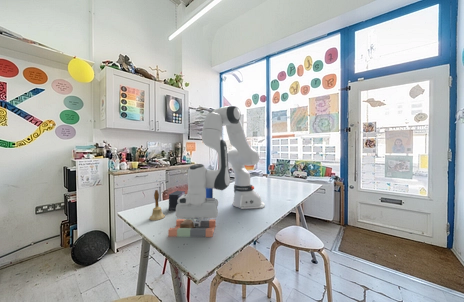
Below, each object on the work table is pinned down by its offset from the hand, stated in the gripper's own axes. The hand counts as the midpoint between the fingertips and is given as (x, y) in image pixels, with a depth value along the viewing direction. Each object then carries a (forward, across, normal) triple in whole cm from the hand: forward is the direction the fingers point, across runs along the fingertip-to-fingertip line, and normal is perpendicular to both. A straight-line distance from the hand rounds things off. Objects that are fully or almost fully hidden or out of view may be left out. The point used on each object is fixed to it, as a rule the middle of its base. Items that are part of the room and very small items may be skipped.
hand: (197, 226), depth 84 cm
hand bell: (+2, +27, -15) cm, 31 cm away
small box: (+2, +21, -31) cm, 37 cm away
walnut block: (+2, +5, 0) cm, 5 cm away
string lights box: (+2, +2, -31) cm, 31 cm away
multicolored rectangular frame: (+2, +2, 0) cm, 3 cm away
